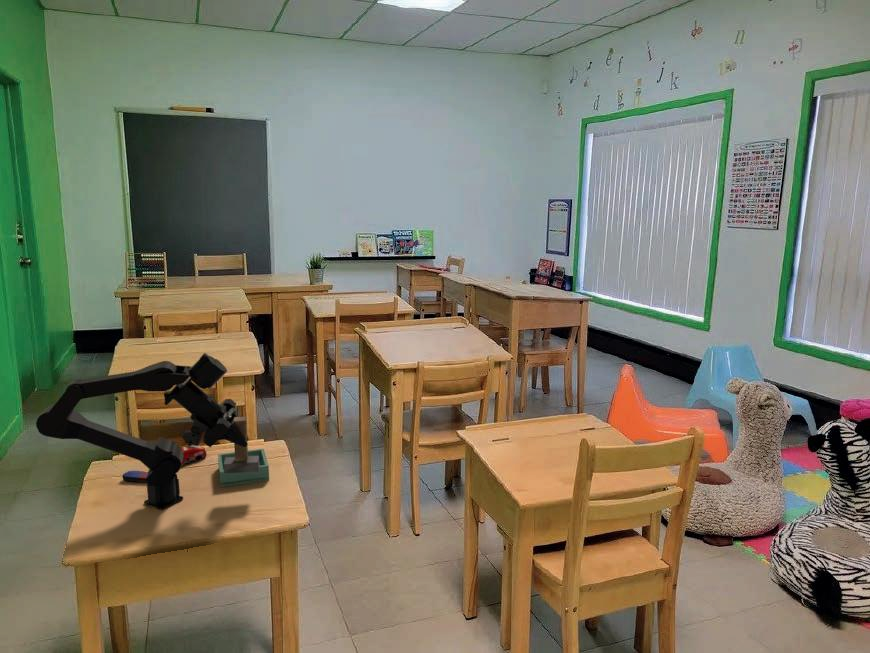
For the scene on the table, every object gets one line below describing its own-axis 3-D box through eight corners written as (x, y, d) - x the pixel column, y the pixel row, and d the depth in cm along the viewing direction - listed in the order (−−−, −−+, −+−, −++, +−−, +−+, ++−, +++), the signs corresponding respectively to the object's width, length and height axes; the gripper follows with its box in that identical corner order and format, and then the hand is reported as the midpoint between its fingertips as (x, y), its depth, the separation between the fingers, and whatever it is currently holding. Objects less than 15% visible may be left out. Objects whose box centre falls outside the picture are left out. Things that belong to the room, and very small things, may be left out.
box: (269, 480, 168) (268, 465, 167) (220, 486, 163) (220, 472, 163) (264, 462, 179) (263, 448, 178) (218, 468, 174) (217, 454, 174)
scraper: (224, 473, 155) (221, 422, 153) (225, 466, 159) (223, 416, 157) (258, 471, 157) (256, 420, 154) (259, 464, 161) (257, 415, 158)
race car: (163, 473, 171) (162, 459, 170) (154, 467, 175) (153, 453, 174) (209, 459, 181) (208, 445, 180) (200, 453, 184) (199, 440, 184)
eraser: (170, 479, 168) (169, 473, 168) (161, 486, 164) (161, 479, 164) (130, 475, 170) (129, 469, 169) (120, 482, 166) (120, 475, 165)
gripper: (180, 412, 162) (227, 451, 166) (165, 441, 144) (219, 483, 148) (211, 381, 161) (258, 421, 166) (200, 405, 144) (253, 449, 148)
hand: (246, 443), depth 157 cm, fingers closed on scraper, 3 cm apart
